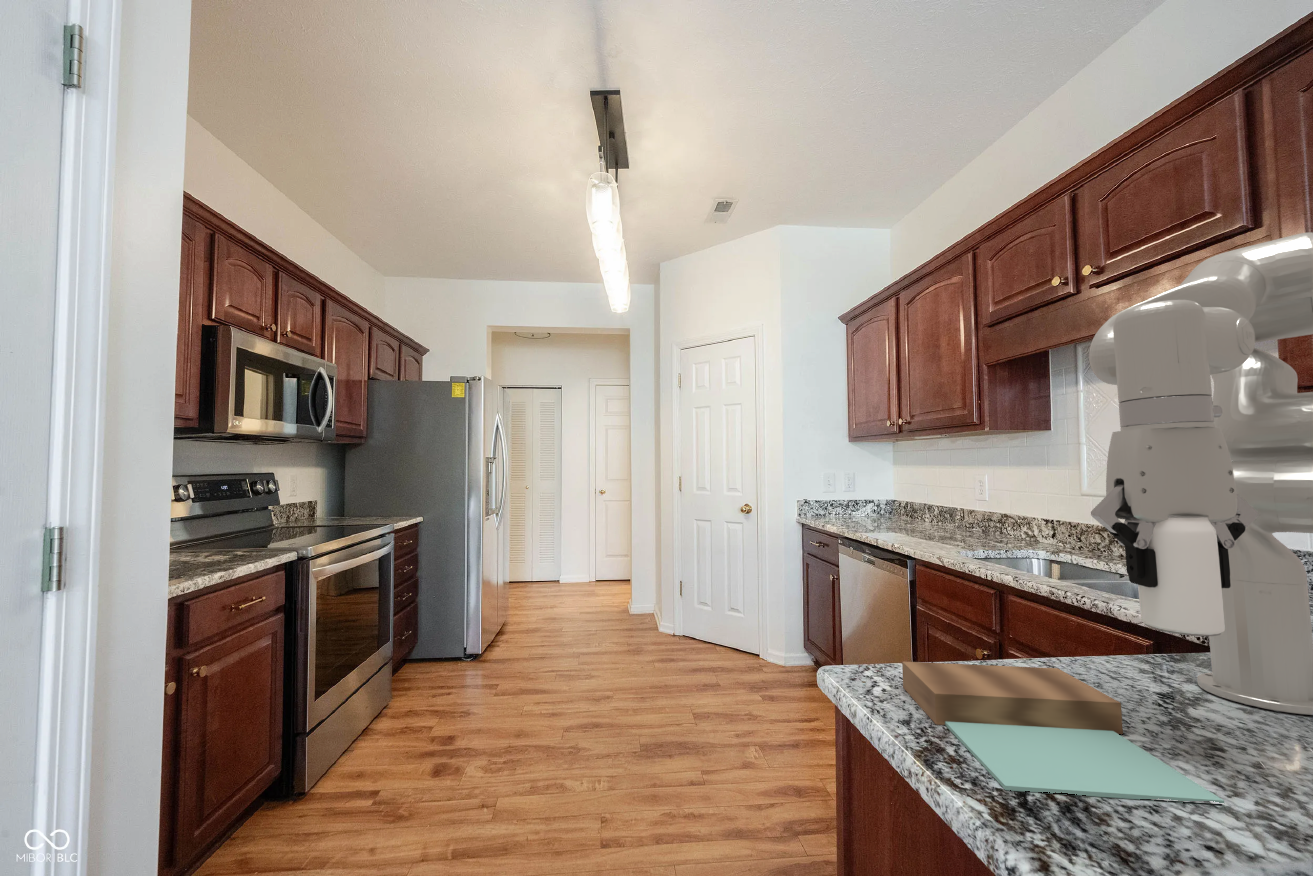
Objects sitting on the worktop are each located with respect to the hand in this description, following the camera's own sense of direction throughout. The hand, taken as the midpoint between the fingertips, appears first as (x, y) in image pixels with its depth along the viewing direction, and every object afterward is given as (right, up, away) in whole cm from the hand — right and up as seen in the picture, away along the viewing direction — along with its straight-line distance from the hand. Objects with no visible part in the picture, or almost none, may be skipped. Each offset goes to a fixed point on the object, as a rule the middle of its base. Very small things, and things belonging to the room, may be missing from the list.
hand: (1178, 583), depth 59 cm
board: (-12, -18, +11) cm, 25 cm away
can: (0, -5, 0) cm, 5 cm away
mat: (-14, -17, -2) cm, 22 cm away
